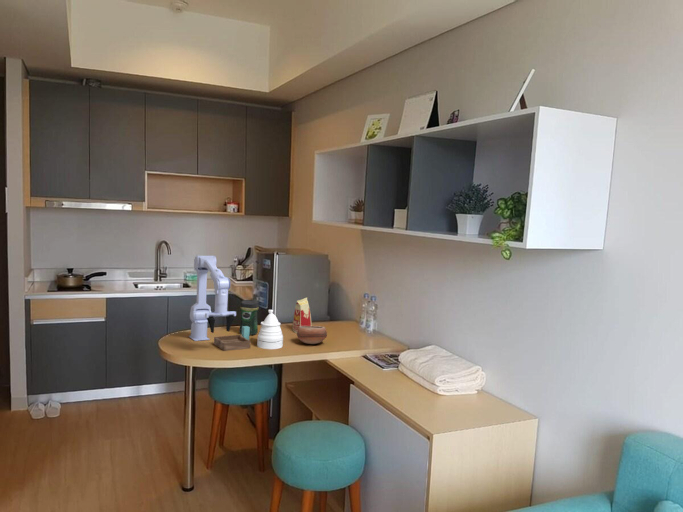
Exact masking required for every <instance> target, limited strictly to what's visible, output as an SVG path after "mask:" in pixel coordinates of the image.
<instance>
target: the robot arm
mask: <svg viewBox="0 0 683 512" xmlns="http://www.w3.org/2000/svg"><path fill="white" fill-rule="evenodd" d="M217 261H218V260H217V257H216V255H198V254H197V255H196V256H195V257H194V259H193V270H194V271H195V272H196V302H195V303H194V304H193V305H191V306H190V312H189V319H190V321H191V326H190V327H191V328H190V335H188V337H189V339H191V340H193V341H194V342H197V341H198V342H199V341H209V340H210V338H209V337H208V325H209V329H210V333H212V334H214V331H215V323H216V322H215V321H216V319H215V318H222V317H225V319H226V325H225V326H226V328H225V329H226V332H230V329H231V327H232V325H233V323H234V321H235V319H236V316H237V311H234V310H233V311H229V310H228V302H229V301H228V300H229V299H228V298H229V290H230V289H231V279H230V278H229V277H226V276H225V275H224V273H223V271H222V270H221V269H220V268H218V267H217V264H218V263H217ZM209 272H210V273H209ZM208 273H209V274H210V275H209V276H210V278H211V280H212V282H213V290H214V294H215V296H214V298H215V299H214V311H212V310H211V309H212V308H211V307H212V306H211V305H209V304H208V303H207V288H208V287H207V284H208V282H207V281H208V280H207V279H208Z"/></svg>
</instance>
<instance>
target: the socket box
mask: <svg viewBox="0 0 683 512" xmlns="http://www.w3.org/2000/svg"><path fill="white" fill-rule="evenodd" d="M213 345H215V346H216V347H218V348H219V349H220V350H222V351H223V352H224V351H225V352H226V351H235V350H245V349H246V350H247V349H251V340H250V339H249V340H248V339H246V338H244V337H242V334H236V335H235V334H234V335H224V336H214V339H213Z"/></svg>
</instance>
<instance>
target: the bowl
mask: <svg viewBox="0 0 683 512" xmlns="http://www.w3.org/2000/svg"><path fill="white" fill-rule="evenodd" d="M296 336H297V338H298V339H299V340H300V341H301V342H302V343H304V344H306V345H317V344H319V343H320V344H321V342H323V341H324V340H326V338H327V336H328V334H327V329H326V327H325V326H320V325H311V326H300V327H299V328H298V331H297V333H296Z"/></svg>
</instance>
